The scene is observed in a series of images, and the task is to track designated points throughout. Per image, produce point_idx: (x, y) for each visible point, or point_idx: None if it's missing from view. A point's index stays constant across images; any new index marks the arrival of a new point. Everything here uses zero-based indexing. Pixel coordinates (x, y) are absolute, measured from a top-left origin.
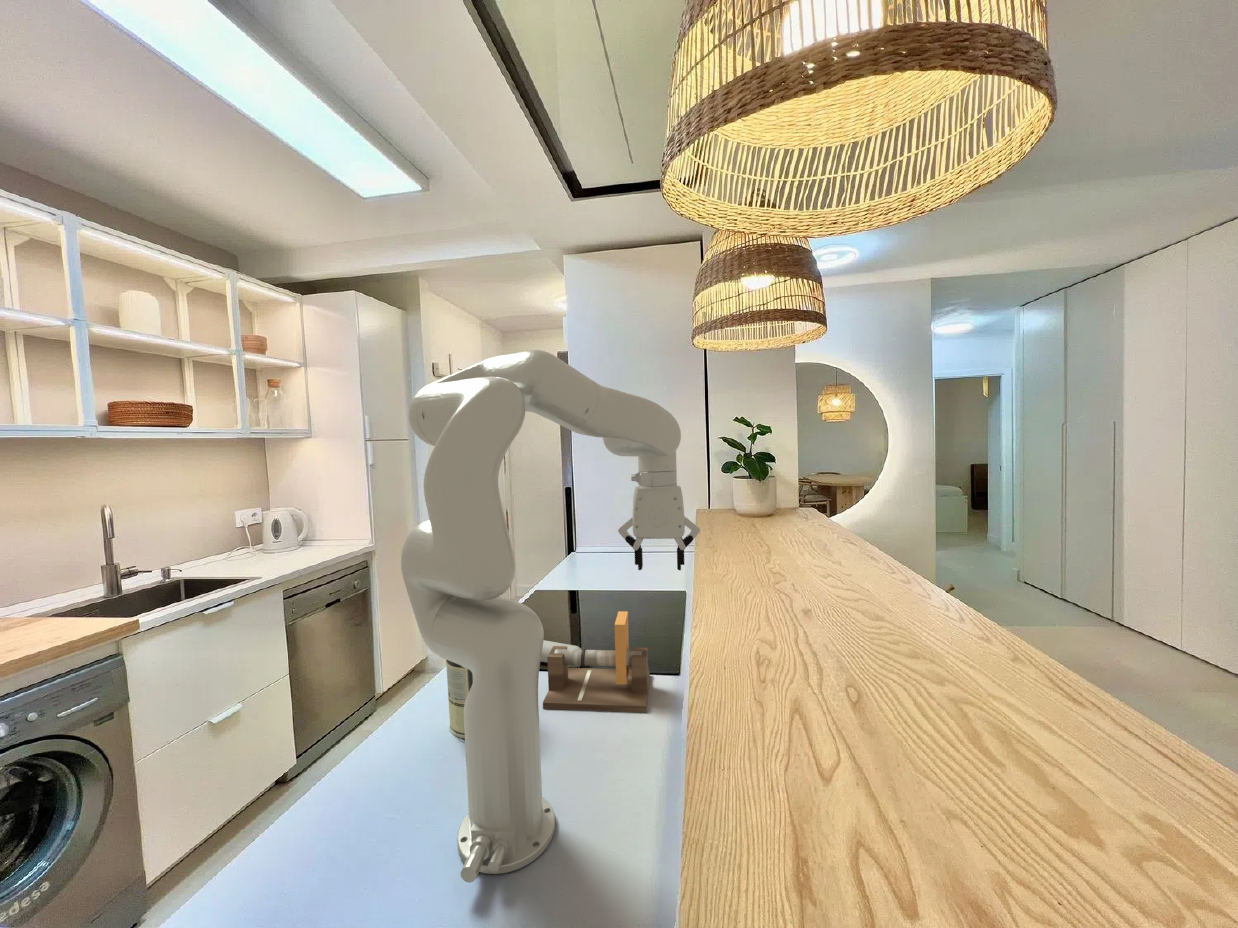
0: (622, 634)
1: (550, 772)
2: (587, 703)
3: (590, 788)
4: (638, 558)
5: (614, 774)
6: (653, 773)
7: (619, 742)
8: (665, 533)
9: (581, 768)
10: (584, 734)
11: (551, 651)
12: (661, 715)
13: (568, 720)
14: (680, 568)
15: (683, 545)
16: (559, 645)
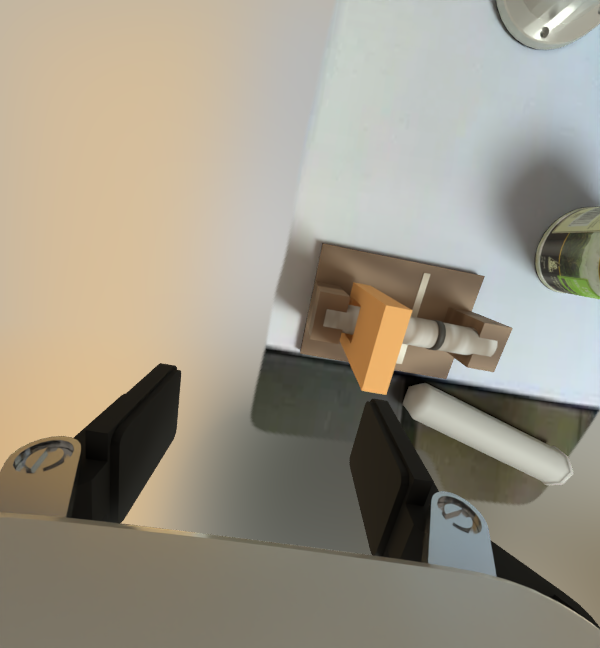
0: (384, 300)
1: (485, 105)
2: (415, 264)
3: (433, 57)
4: (405, 439)
5: (394, 86)
6: (337, 80)
7: (375, 167)
8: (115, 604)
9: (439, 108)
10: (424, 196)
11: (500, 349)
12: (300, 231)
13: (443, 237)
14: (161, 365)
15: (24, 473)
16: (454, 420)
